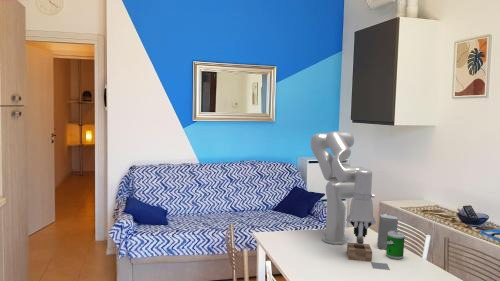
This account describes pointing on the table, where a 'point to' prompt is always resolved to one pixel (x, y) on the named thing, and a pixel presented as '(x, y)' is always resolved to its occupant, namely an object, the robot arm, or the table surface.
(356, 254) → the hole block
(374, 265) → the mat
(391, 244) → the soda can
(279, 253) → the table surface
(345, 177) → the robot arm
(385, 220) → the skincare box
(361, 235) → the peg
